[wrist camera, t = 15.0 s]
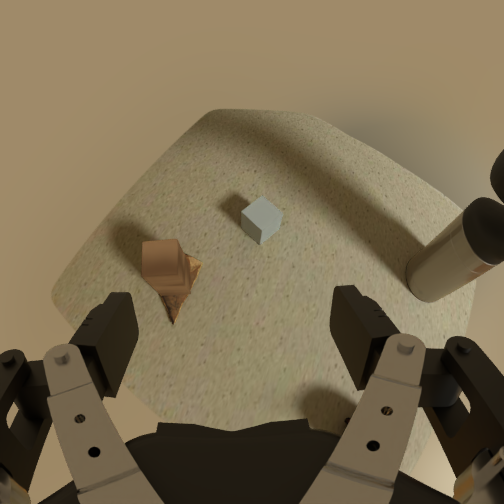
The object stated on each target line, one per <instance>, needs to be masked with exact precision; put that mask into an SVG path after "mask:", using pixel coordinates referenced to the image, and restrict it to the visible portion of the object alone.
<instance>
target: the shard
mask: <svg viewBox="0 0 504 504" xmlns="http://www.w3.org/2000/svg"><path fill="white" fill-rule="evenodd" d="M184 255H185V257H186V259H187V261H188V263H189V265H190V290H191V288H192V287H193V284H194V282H195V280H196V279H197V277H198V274H199V271H200V269H201V266H202V265H203V262H201V261H199V260H197V259H195V258H193V257H191V256H188V255H186V254H184ZM187 296H188V294H183V295H166V296H161V297H162V300H163V302H164V305H165V307H166V308H167V310H168V313H169V316H170V320H171V322H172V324H174V323H175V322H176V319H177V317H178V315H179V311H180V309H181V307H182V304H183V303H184V301H185V299H186V298H187Z"/></svg>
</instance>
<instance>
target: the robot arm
mask: <svg viewBox="0 0 504 504" xmlns="http://www.w3.org/2000/svg"><path fill="white" fill-rule="evenodd" d="M490 181H491V185H492V187H493V189H494V191H495V193H496V194H497V196H498V197H499V198H500V200H501V201H502V202H503V203H504V150H503V151H502V152H501V153H500V155H499V156H498V157H497V159H496V161H495V163H494V165H493V167H492V170H491V174H490ZM503 261H504V205H502V204H500V203H498V202H496V201H495V200H492V199H490V198H485V197H481V198H478V199H476V200H474V201H473V202H472V203H471V204H470V205H469V206H468V207H467V208H466V209H465V210H464V211H463V212H462V213H461V214H460V215H459V216H458V217H457V218H456V219H455V220H454V221H453V222H452V223H450V224H449V225H448V226H447V227H446V228H445V229H444V230H443V231H442V232H441V233H440V234H439V235H438V236H436V237H435V238H434V239H433V240H432V241H431V242H430V243H429V244H428V245H426V246H425V247H424V248H423V249H422V250H421V251H420V252H418V253H417V254H416V255H415V256H414V257H413V258H412V259H411V260H410V261H409V263H408V265H407V268H406V279H407V283H408V285H409V288H410V289H411V291H412V293H413V294H414V295H415V296H416V297H417V298H419V299H420V300H422V301H424V302H428V303H429V302H435V301H437V300H439V299H441V298H443V297H445V296H446V295H448V294H450V293H452V292H454V291H455V290H457V289H459V288H461V287H462V286H464V285H466V284H468V283H469V282H471V281H473V280H474V279H476V278H477V277H479V276H481V275H482V274H484V273H485V272H487V271H488V270H490V269H492V268H493V267H495V266H496V265H498V264H500V263H501V262H503ZM330 332H331V335H332V337H333V339H334V341H335V343H336V346H337V348H338V350H339V352H340V354H341V356H342V358H343V360H344V363H345V365H346V367H347V369H348V371H349V373H350V376H351V378H352V380H353V382H354V384H355V387H356V389H357V391H359V390H364V393H363V395H362V397H361V399H360V401H359V403H358V405H357V407H356V410H355V412H354V414H353V416H352V418H351V420H350V422H349V424H348V426H347V427H346V429H345V431H344V433H343V435H342V436H340V435H337V434H335V433H332V432H328V431H324V430H319V429H311V428H310V427H309V423H308V419H307V418H306V419H297V420H288V421H277V422H269V423H265V424H262V425H258V426H254V427H250V428H246V429H242V430H238V431H225V430H220V429H215V428H210V427H205V426H200V425H196V424H180V423H162V422H159V423H158V426H157V431H156V433H150V434H146V435H142V436H139V437H137V438H134V439H132V440H130V441H128V442H126V443H124V442H123V441H122V439H121V437H120V435H119V433H118V432H117V430H116V428H115V426H114V424H113V422H112V420H111V419H110V417H109V415H108V413H107V411H106V409H105V407H104V405H103V403H102V400H103V398H104V396H105V397H113V398H116V395H117V392H118V390H119V387H120V384H121V382H122V379H123V376H124V374H125V371H126V368H127V366H128V363H129V361H130V358H131V356H132V353H133V351H134V348H135V346H136V343H137V341H138V335H139V330H138V323H137V319H136V315H135V310H134V306H133V301H132V297H131V294H130V293H129V292H111V293H110V294H109V296H108V297H107V299H106V300H105V302H104V303H103V304H99V305H98V306H97V307H95V308H94V309H92V310H91V311H90V313H89V314H88V315H87V317H86V319H85V320H84V321H83V322H82V324H81V326H80V327H79V328H78V330H77V331H76V333H75V334H74V336H73V337H72V338H71V340H70V342H69V343H68V344H61V345H57V346H55V347H53V348H52V349H50V350H49V351H48V352H47V353H46V354H45V356H44V358H43V360H39V361H29V362H27V359H26V358H25V356H24V353H23V352H22V351H20V350H17V349H13V350H8V351H6V352H4V353H2V354H0V504H31V500H30V497H29V494H28V491H29V487H30V484H31V481H32V478H33V474H34V471H35V468H36V465H37V462H38V460H39V457H40V454H41V451H42V448H43V445H44V443H45V440H46V437H47V435H48V432H49V430H50V427H51V424H52V422H53V423H54V426H55V430H56V433H57V437H58V440H59V443H60V446H61V448H62V451H63V454H64V457H65V460H66V462H67V465H68V468H69V470H70V473H71V475H72V477H73V481H71V482H70V483H68V484H67V485H65V486H64V487H62V488H61V489H59V490H58V491H56V492H55V493H53V494H52V495H50V496H49V497H47V498H46V499H44V500H43V501H41V502H39V503H38V504H504V376H503V375H502V374H501V372H500V371H499V370H498V369H497V367H496V366H495V365H494V364H493V362H492V361H491V360H490V359H489V358H488V357H487V356H486V354H485V353H484V352H483V351H482V350H481V348H479V346H478V345H477V344H476V343H475V342H474V341H472V340H471V339H469V338H466V337H462V336H454V337H451V338H449V339H448V340H447V342H446V345H445V347H444V349H431V348H426V347H425V345H424V343H423V342H422V341H421V340H420V339H419V338H417V337H415V336H413V335H410V334H403V333H400V331H399V330H398V329H397V327H396V326H395V325H394V324H393V322H392V321H391V320H390V319H389V317H388V316H387V315H386V313H385V312H384V311H382V308H381V307H380V306H379V305H378V303H377V302H376V301H374V300H372V299H371V298H369V297H367V296H362V294H361V293H360V292H359V290H358V289H357V288H356V287H355V286H354V285H346V286H336V287H335V288H334V292H333V299H332V307H331V315H330ZM462 391H463V392H464V394H465V395H466V397H467V398H468V400H469V402H470V407H471V409H470V414H469V412H468V411H467V409H466V407H465V406H464V404H463V403H462V401H461V400H460V398H459V395H460V393H461V392H462ZM13 402H14V403H15V404H16V406H17V407H18V409H19V410H18V413H17V414H16V416H15V419H14V421H13V423H12V425H11V427H10V429H9V428H8V425H7V421H6V417H7V414H8V412H9V410H10V407H11V406H12V404H13ZM418 407H422V408H423V410H424V411H425V413H426V415H427V417H428V419H429V421H430V423H431V425H432V427H433V429H434V431H435V433H436V435H437V437H438V439H439V441H440V444H441V446H442V448H443V450H444V452H445V454H446V456H447V458H448V461H449V463H450V465H451V467H452V469H453V472H454V474H455V476H456V478H457V479H456V481H455V484H454V496H453V498H451V497H449V496H447V495H445V494H443V493H441V492H439V491H437V490H435V489H433V488H431V487H429V486H427V485H425V484H423V483H421V482H420V481H417V480H416V479H414V478H412V477H410V476H408V475H407V474H405V473H403V472H401V471H399V468H400V465H401V462H402V459H403V456H404V453H405V450H406V447H407V444H408V441H409V437H410V434H411V430H412V427H413V423H414V419H415V416H416V412H417V408H418Z"/></svg>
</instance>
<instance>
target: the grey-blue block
mask: <svg viewBox="0 0 504 504" xmlns="http://www.w3.org/2000/svg"><path fill="white" fill-rule="evenodd" d="M282 215H283V213H282V212H281V211H280V210H279V209H278V208H276V207H275V206H274V205H273V204H272V203H271V202H270V201H268V200H267V199H266V198H265V197H264V196H263V195H262V196H261V197H259V198H258V199H257V200H255V201H254V202H253V203H252V204H250V205H249V206H248V207H246V208H245V209H244V210H242V211H241V228H242V229H243V230H244V231H245V232H246V233H248V234H249V235H250V236H251V237H252V238H253V239H254V240H255V241H256V242H257V243H258V244H259V245H261V244H262V243H263V242H264V241H266V240H267V239H268V238H269V237H270V236H272V235H273V234H274V233H275V232H276V231H277V230H279V228H280V224H281V220H282Z"/></svg>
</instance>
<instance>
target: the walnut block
mask: <svg viewBox="0 0 504 504" xmlns="http://www.w3.org/2000/svg"><path fill="white" fill-rule="evenodd" d="M141 276H142V277H143V278H144V279H145V280H146V281H147V282H148V283H149V284H150V285H151V286H152V287H153V288H154V289H155V290H156V291H157V292H158V293H159V294H160V295H161V296H166V295H183V294H191V290H190V265H189V263H188V261H187V259H186V257H185V255H184V252H183V250H182V248H181V246H180V244H179V242H178V240H177V239H168V240H156V241H145V242H143V244H142V271H141Z"/></svg>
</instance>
